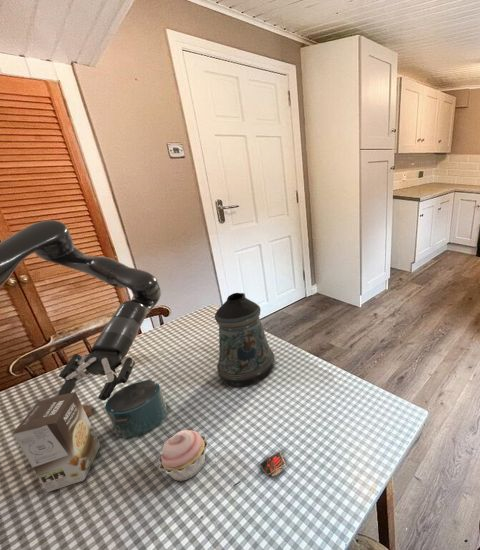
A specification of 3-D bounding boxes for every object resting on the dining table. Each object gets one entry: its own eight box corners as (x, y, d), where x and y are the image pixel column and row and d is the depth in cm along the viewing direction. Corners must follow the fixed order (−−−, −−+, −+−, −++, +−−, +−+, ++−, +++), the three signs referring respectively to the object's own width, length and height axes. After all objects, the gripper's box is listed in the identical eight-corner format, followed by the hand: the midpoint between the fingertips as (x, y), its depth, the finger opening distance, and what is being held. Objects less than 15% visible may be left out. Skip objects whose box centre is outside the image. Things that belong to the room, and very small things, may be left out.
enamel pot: (102, 447, 70) (90, 422, 67) (130, 403, 82) (121, 380, 80) (155, 437, 72) (146, 413, 69) (175, 395, 85) (168, 373, 82)
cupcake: (159, 497, 60) (145, 462, 56) (167, 457, 68) (155, 424, 64) (211, 478, 63) (201, 444, 59) (213, 442, 71) (204, 410, 67)
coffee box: (86, 480, 63) (55, 423, 57) (46, 493, 61) (10, 435, 55) (101, 444, 71) (76, 390, 65) (66, 454, 68) (37, 399, 62)
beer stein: (230, 397, 84) (212, 319, 75) (209, 363, 98) (192, 293, 88) (284, 370, 94) (274, 298, 85) (259, 343, 108) (248, 279, 98)
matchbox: (258, 466, 65) (258, 465, 65) (278, 449, 69) (278, 448, 69) (271, 480, 63) (271, 478, 62) (291, 461, 66) (291, 460, 66)
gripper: (151, 345, 86) (121, 405, 76) (96, 341, 84) (58, 402, 74) (139, 332, 80) (106, 395, 70) (81, 328, 79) (37, 392, 68)
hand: (81, 398), depth 72 cm, fingers open, 8 cm apart
